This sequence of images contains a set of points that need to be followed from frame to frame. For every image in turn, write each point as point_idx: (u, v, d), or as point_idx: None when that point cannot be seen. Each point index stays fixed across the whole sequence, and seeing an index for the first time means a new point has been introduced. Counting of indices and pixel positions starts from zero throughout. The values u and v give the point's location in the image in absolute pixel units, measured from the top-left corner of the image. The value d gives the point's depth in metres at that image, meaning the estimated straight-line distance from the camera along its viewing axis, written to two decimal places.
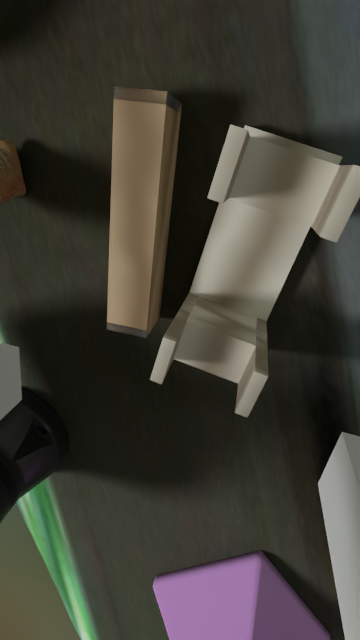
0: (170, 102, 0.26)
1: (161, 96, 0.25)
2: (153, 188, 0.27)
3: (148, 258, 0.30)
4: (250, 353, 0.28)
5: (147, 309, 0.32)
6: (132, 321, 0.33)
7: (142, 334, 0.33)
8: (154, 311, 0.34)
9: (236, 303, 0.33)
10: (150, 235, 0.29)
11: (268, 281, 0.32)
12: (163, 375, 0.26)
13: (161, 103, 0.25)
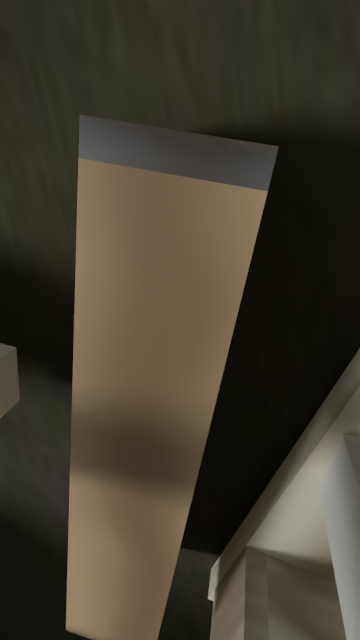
0: None
1: (254, 162, 0.07)
2: (197, 413, 0.09)
3: (168, 546, 0.12)
4: None
5: (158, 623, 0.14)
6: (122, 632, 0.14)
7: None
8: None
9: None
10: (177, 507, 0.11)
11: None
12: None
13: (251, 186, 0.07)
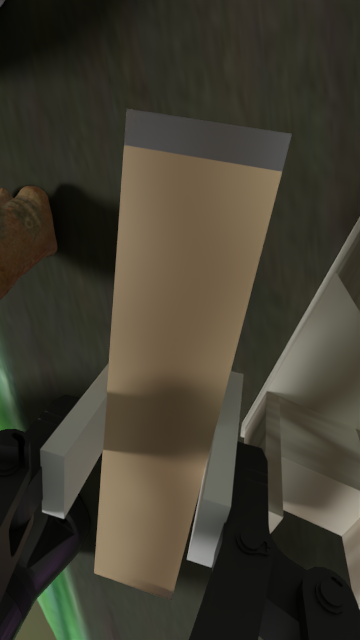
0: None
1: (271, 147, 0.08)
2: (218, 366, 0.11)
3: (189, 490, 0.13)
4: None
5: (178, 564, 0.15)
6: (145, 572, 0.16)
7: (164, 594, 0.17)
8: None
9: (330, 410, 0.25)
10: (198, 453, 0.12)
11: None
12: None
13: (268, 167, 0.08)
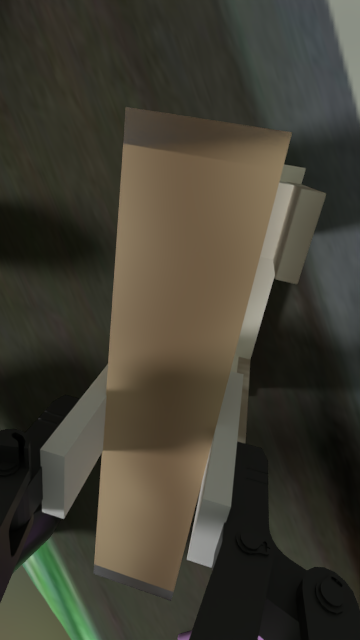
0: None
1: (271, 145, 0.08)
2: (217, 366, 0.11)
3: (189, 490, 0.13)
4: None
5: (178, 564, 0.15)
6: (144, 573, 0.16)
7: (164, 595, 0.16)
8: None
9: None
10: (198, 453, 0.12)
11: None
12: None
13: (268, 166, 0.08)
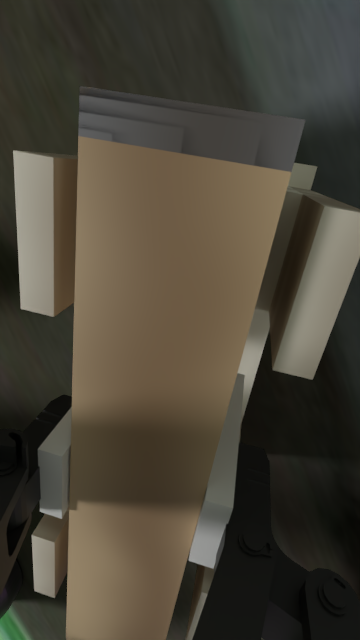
0: None
1: (276, 138, 0.06)
2: (207, 420, 0.08)
3: (174, 559, 0.11)
4: None
5: (163, 638, 0.13)
6: None
7: None
8: None
9: None
10: (184, 519, 0.10)
11: None
12: (52, 586, 0.15)
13: (272, 166, 0.06)
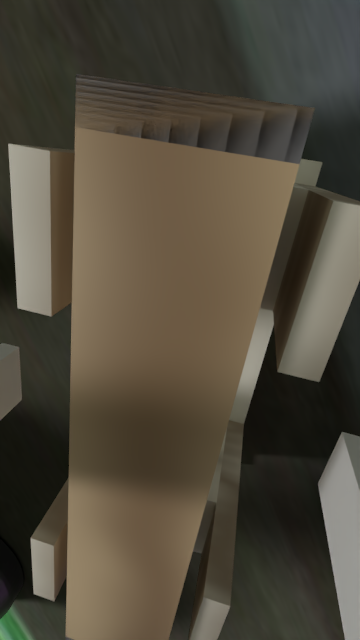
0: None
1: (283, 128, 0.06)
2: (209, 423, 0.08)
3: (175, 565, 0.11)
4: (210, 513, 0.17)
5: None
6: None
7: None
8: None
9: None
10: (186, 524, 0.10)
11: None
12: (52, 589, 0.15)
13: (279, 158, 0.06)
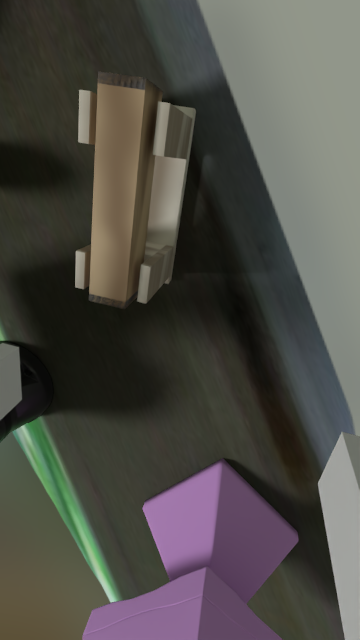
0: (149, 88, 0.28)
1: (140, 82, 0.27)
2: (133, 167, 0.30)
3: (127, 233, 0.32)
4: None
5: (126, 282, 0.34)
6: (112, 293, 0.35)
7: (121, 305, 0.35)
8: (134, 285, 0.37)
9: (149, 236, 0.43)
10: (129, 211, 0.31)
11: (167, 214, 0.42)
12: (83, 281, 0.36)
13: (140, 88, 0.27)
